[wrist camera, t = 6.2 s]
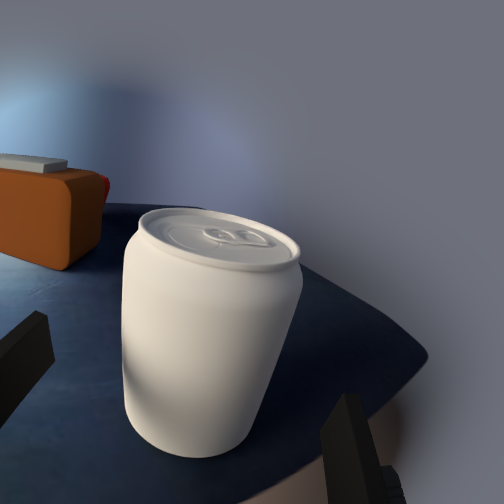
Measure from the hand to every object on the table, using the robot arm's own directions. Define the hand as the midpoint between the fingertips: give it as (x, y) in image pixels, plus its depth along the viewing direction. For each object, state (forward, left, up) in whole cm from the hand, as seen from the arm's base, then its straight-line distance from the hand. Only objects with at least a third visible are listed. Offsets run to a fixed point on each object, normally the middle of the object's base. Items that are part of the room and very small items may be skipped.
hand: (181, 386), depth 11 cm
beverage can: (+3, -2, -7) cm, 8 cm away
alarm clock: (+32, +13, -7) cm, 35 cm away
